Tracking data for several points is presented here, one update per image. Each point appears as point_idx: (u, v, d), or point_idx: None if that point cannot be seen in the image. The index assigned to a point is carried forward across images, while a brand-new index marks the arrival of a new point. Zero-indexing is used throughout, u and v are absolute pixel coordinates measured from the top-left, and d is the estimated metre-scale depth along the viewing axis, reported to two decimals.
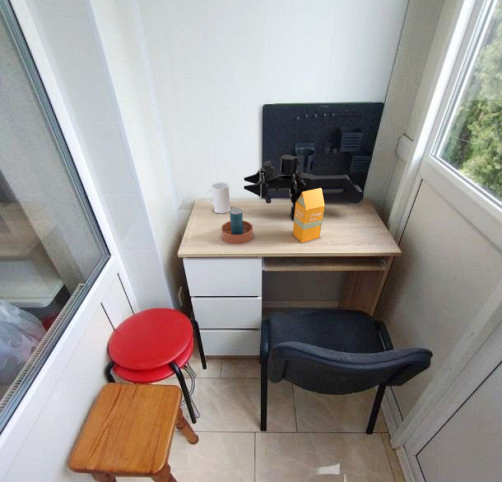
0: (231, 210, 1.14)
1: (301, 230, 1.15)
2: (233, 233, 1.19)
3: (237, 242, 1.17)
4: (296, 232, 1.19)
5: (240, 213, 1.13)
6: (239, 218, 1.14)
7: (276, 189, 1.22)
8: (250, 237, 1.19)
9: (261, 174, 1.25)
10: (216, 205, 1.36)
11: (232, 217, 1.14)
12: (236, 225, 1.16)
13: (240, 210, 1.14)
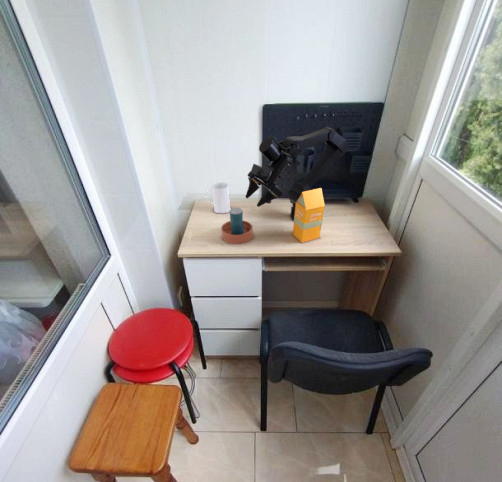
0: (231, 210, 1.14)
1: (301, 230, 1.15)
2: (233, 233, 1.19)
3: (237, 242, 1.17)
4: (296, 232, 1.19)
5: (240, 213, 1.13)
6: (239, 218, 1.14)
7: (279, 176, 1.12)
8: (250, 237, 1.19)
9: (254, 178, 1.16)
10: (216, 205, 1.36)
11: (232, 217, 1.14)
12: (236, 225, 1.16)
13: (240, 210, 1.14)
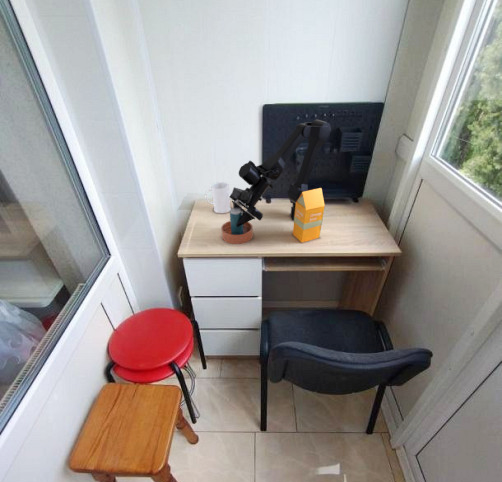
0: (231, 210, 1.14)
1: (301, 230, 1.15)
2: (233, 233, 1.19)
3: (237, 242, 1.17)
4: (296, 232, 1.19)
5: (240, 213, 1.13)
6: (239, 218, 1.14)
7: (260, 199, 1.14)
8: (250, 237, 1.19)
9: (238, 202, 1.16)
10: (216, 205, 1.36)
11: (232, 217, 1.14)
12: None
13: (240, 210, 1.14)
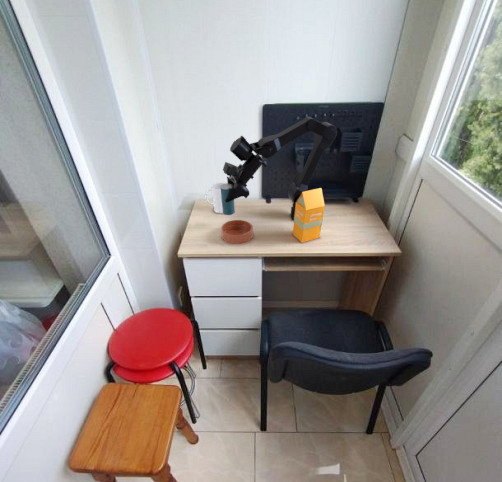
0: (222, 185, 1.15)
1: (301, 230, 1.15)
2: (223, 209, 1.20)
3: (237, 242, 1.17)
4: (296, 232, 1.19)
5: (229, 189, 1.14)
6: (228, 193, 1.15)
7: (251, 177, 1.13)
8: (250, 237, 1.19)
9: (231, 178, 1.17)
10: (216, 205, 1.36)
11: (221, 191, 1.15)
12: None
13: (230, 186, 1.15)
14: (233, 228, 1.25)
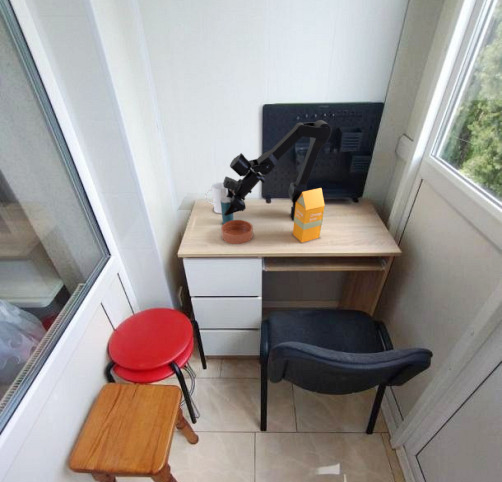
0: (222, 198, 1.23)
1: (301, 230, 1.15)
2: (223, 220, 1.28)
3: (237, 242, 1.17)
4: (296, 232, 1.19)
5: (228, 202, 1.21)
6: (227, 207, 1.23)
7: (249, 191, 1.19)
8: (250, 237, 1.19)
9: (231, 189, 1.26)
10: (216, 205, 1.36)
11: (221, 205, 1.23)
12: None
13: None
14: (233, 228, 1.25)
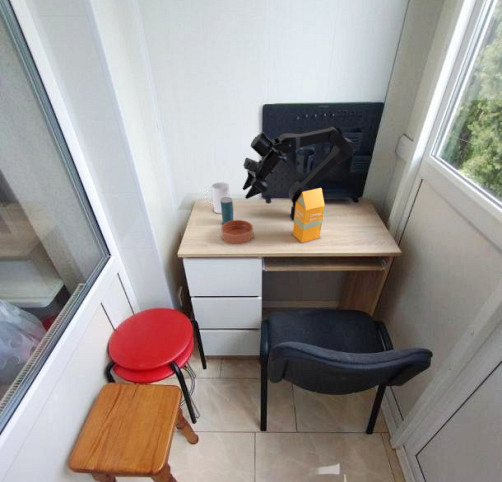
0: (222, 198, 1.23)
1: (301, 230, 1.15)
2: (223, 220, 1.28)
3: (237, 242, 1.17)
4: (296, 232, 1.19)
5: (228, 202, 1.21)
6: (227, 207, 1.23)
7: (271, 172, 1.15)
8: (250, 237, 1.19)
9: (251, 172, 1.22)
10: (216, 205, 1.36)
11: (221, 205, 1.23)
12: (224, 213, 1.25)
13: (230, 200, 1.22)
14: (233, 228, 1.25)
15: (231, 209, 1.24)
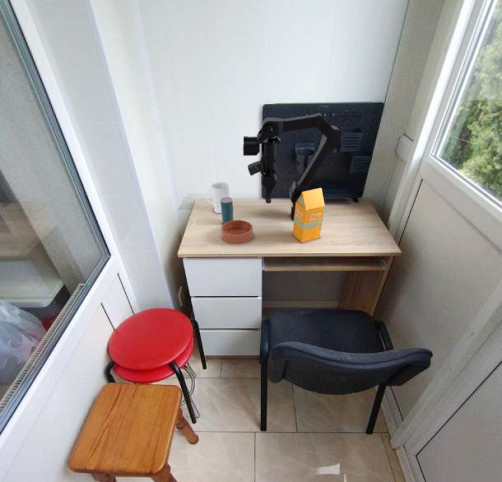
0: (222, 198, 1.23)
1: (301, 230, 1.15)
2: (223, 220, 1.28)
3: (237, 242, 1.17)
4: (296, 232, 1.19)
5: (228, 202, 1.21)
6: (227, 207, 1.23)
7: (273, 160, 1.14)
8: (250, 237, 1.19)
9: None
10: (216, 205, 1.36)
11: (221, 205, 1.23)
12: (224, 213, 1.25)
13: (230, 200, 1.22)
14: (233, 228, 1.25)
15: (231, 209, 1.24)
